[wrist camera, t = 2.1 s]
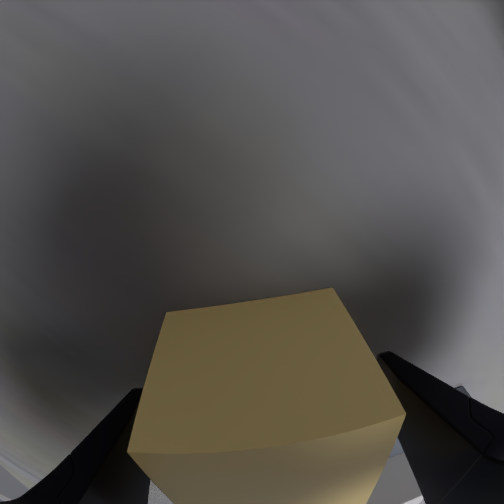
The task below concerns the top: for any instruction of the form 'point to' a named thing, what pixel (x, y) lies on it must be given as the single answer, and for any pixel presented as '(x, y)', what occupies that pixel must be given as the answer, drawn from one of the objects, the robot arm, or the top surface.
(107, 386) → the top surface
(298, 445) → the ochre brick
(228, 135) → the top surface
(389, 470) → the white brick
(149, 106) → the top surface
